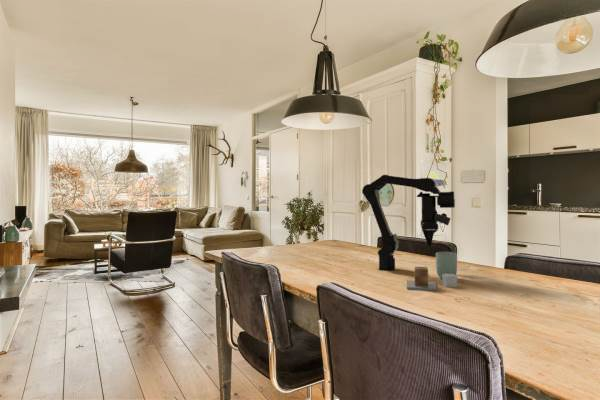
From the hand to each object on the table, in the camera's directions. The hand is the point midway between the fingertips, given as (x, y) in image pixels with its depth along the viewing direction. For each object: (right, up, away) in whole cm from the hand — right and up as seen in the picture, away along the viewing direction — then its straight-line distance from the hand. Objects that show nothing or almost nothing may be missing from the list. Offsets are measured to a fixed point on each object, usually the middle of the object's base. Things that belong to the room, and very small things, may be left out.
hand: (429, 244), depth 155 cm
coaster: (-11, -13, -22) cm, 28 cm away
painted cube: (0, -13, -22) cm, 25 cm away
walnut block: (-11, -12, -23) cm, 28 cm away
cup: (+3, -12, -11) cm, 17 cm away
